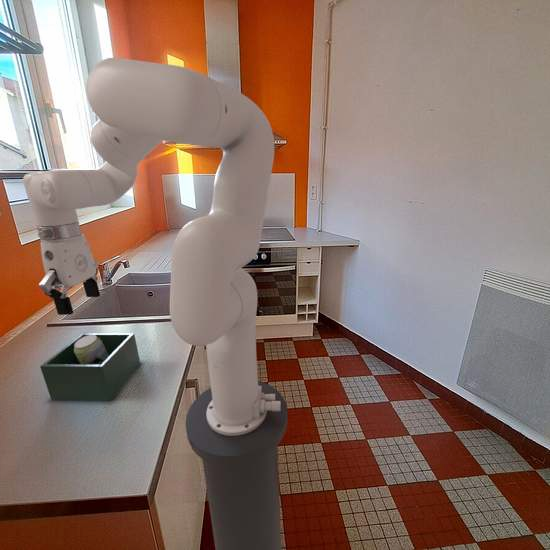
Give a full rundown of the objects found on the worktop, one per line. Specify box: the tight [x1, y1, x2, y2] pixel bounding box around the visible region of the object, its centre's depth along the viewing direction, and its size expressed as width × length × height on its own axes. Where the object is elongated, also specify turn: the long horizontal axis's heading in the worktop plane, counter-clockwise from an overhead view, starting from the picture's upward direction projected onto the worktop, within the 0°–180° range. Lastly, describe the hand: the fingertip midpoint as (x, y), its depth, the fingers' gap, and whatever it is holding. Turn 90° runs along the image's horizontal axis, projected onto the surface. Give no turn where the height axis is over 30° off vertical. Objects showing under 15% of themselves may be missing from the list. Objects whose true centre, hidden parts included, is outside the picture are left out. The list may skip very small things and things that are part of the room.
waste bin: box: [39, 332, 141, 402], centre depth 76 cm, size 15×15×10 cm
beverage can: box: [74, 335, 109, 365], centre depth 75 cm, size 6×7×12 cm
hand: (80, 304), depth 70 cm, fingers open, 9 cm apart
